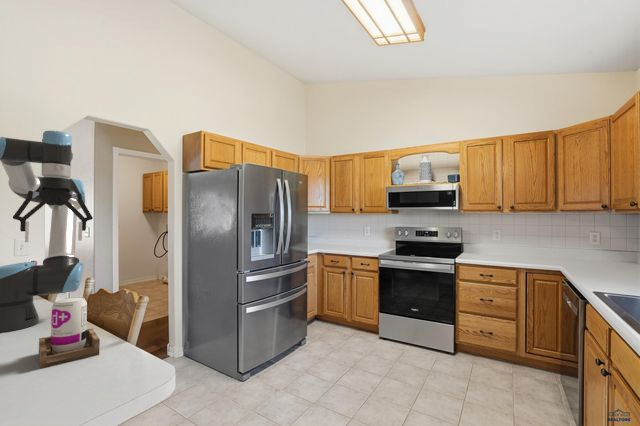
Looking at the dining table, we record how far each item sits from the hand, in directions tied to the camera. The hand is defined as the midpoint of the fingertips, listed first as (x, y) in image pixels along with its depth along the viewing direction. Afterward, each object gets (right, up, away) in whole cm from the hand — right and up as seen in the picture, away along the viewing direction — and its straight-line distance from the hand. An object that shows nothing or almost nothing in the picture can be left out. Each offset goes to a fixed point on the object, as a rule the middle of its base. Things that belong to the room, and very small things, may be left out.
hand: (54, 241), depth 105 cm
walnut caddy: (+14, -32, -12) cm, 37 cm away
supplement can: (+14, -32, -12) cm, 37 cm away
